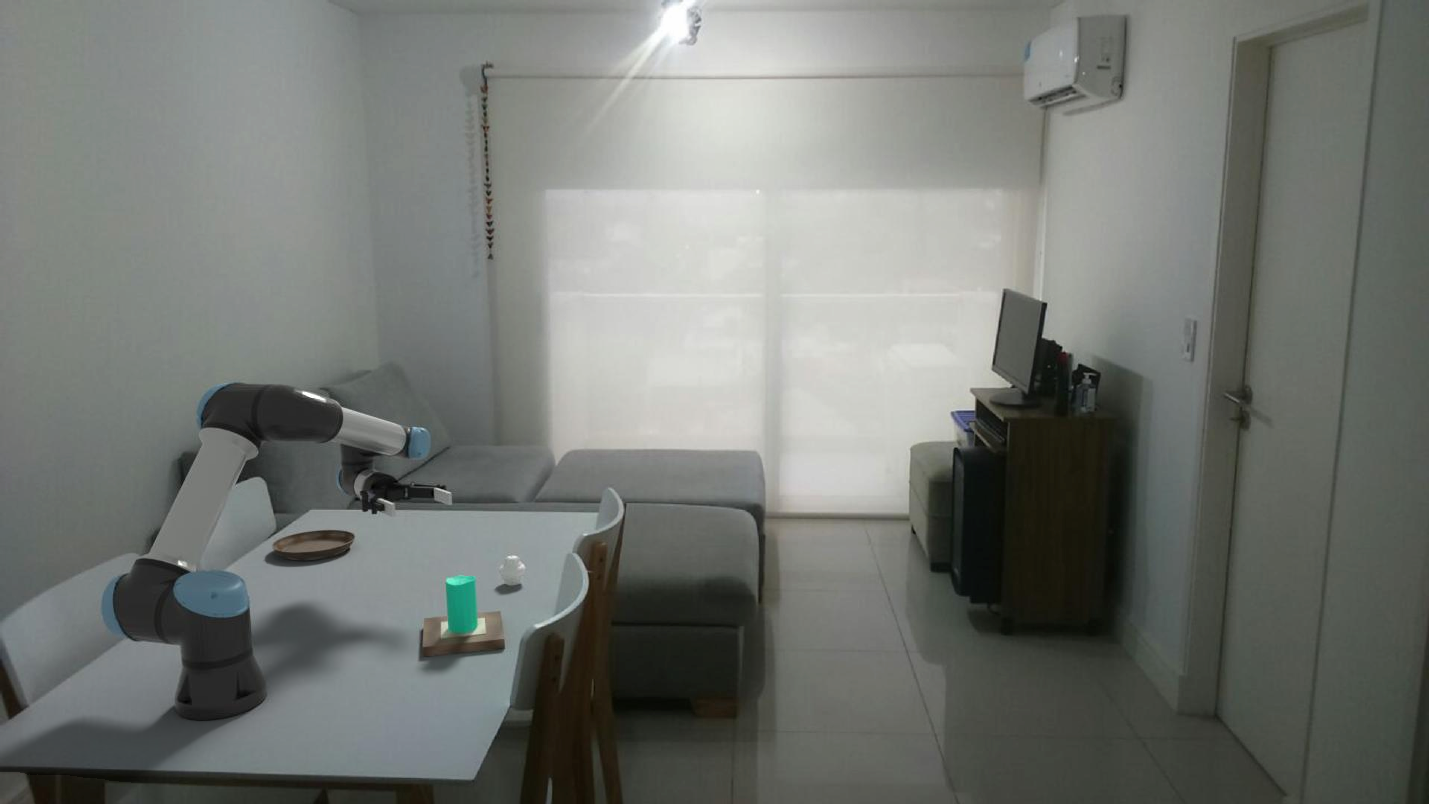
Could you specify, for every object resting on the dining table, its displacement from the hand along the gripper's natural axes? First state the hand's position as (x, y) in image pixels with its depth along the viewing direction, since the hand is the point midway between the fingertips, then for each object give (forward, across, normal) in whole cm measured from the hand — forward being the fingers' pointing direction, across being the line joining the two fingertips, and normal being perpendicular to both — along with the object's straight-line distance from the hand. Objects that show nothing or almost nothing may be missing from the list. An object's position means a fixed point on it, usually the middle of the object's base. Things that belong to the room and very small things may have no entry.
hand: (422, 504), depth 232 cm
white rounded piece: (-2, -24, -24) cm, 34 cm away
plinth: (+19, +2, -25) cm, 31 cm away
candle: (+19, +2, -23) cm, 29 cm away
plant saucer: (-61, -1, -25) cm, 66 cm away
